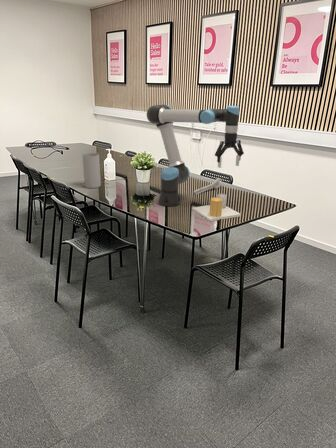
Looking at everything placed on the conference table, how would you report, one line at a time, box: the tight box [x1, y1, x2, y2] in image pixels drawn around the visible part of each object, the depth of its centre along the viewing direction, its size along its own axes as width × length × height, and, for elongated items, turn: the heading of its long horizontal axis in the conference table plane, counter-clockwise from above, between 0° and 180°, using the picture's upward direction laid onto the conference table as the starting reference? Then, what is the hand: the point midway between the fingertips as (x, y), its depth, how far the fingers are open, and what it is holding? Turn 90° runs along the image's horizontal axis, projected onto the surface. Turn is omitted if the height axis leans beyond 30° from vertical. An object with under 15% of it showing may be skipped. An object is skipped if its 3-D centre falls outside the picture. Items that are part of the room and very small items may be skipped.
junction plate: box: [191, 193, 242, 222], centre depth 211 cm, size 22×22×10 cm
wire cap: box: [209, 196, 223, 217], centre depth 204 cm, size 7×7×10 cm
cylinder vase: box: [81, 152, 102, 189], centre depth 261 cm, size 12×12×25 cm
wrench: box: [193, 177, 223, 195], centre depth 257 cm, size 8×2×30 cm
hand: (228, 166), depth 215 cm, fingers open, 13 cm apart
